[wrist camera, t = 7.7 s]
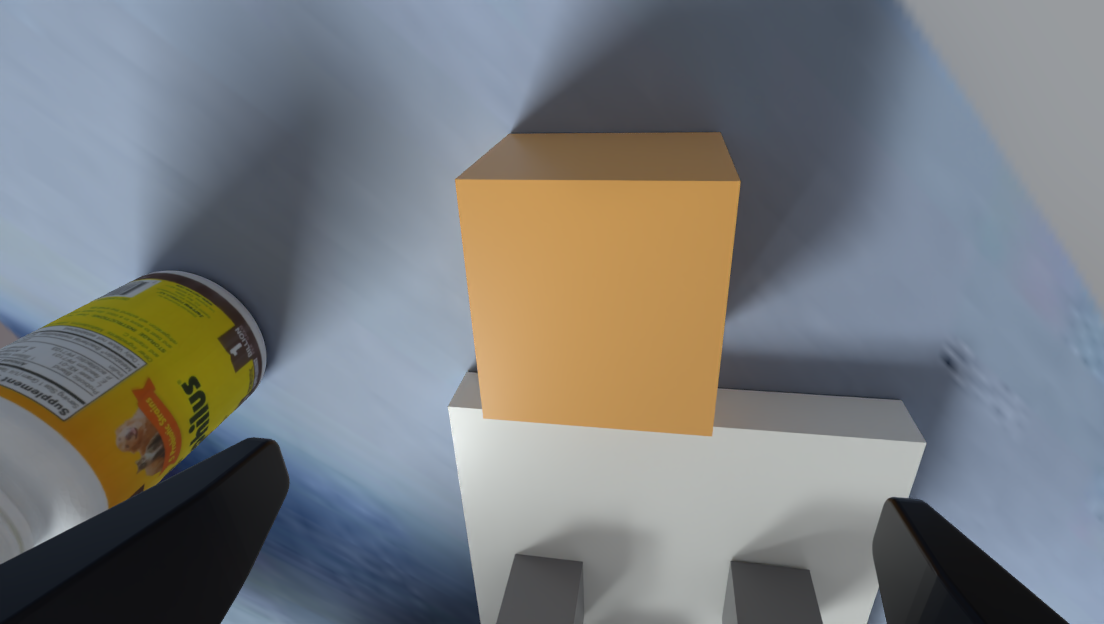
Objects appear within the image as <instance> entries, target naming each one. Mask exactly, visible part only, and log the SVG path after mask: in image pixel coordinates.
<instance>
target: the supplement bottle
mask: <svg viewBox="0 0 1104 624" xmlns="http://www.w3.org/2000/svg"><path fill="white" fill-rule="evenodd" d="M266 358H267V357H266V347H265V343H264V339H263V336H262V334H261V331H260V329H259V327H258V325H257V323H256V322H255V320H254V318H253V317H252V315H251V314H250V313H249V311H248V310H247V309H246V308H245V307H244V305H243V304H242V303H241V302H240V301H239V300H238V299H237V298H236V297H234V296H233V295H232V294H231V293H229V292H228V291H227V290H226V289H224V288H223V287H221V286H219V285H218V284H216V283H214V282H212V281H210V280H208V279H206V278H204V277H201V276H198V275H195V274H192V273H188V272H183V271H158V272H153V273H149V274H146V275H144V276H141V277H139V278H137V279H135V280H133V281H131V282H129V283H127V284H125V285H123V286H121V287H119V288H118V289H116V290H113V291H111V292H109V293H107V294H106V295H104V296H102V297H100V298H98V299H95V300H94V301H92V302H90V303H88V304H86V305H84V306H82V307H80V308H78V309H76V310H75V311H73V312H71V313H69V314H67V315H65V316H63V317H61V318H59V319H57V320H55V321H53V322H51V323H49V324H47V325H46V326H44V327H42V328H40V329H38V330H36V331H34V332H32V333H30V334H28V335H26V336H24V337H22V338H20V339H18V340H17V341H15V342H13V343H11V344H9V345H7V346H5V347H3V348H1V349H0V564H2V563H4V562H6V561H8V560H10V559H12V558H13V557H15V556H17V555H19V554H21V553H23V552H25V551H27V550H29V549H31V548H33V547H35V546H37V545H39V544H41V543H43V542H45V541H47V540H49V539H51V538H53V537H55V536H57V535H59V534H61V533H62V532H64V531H66V530H68V529H70V528H72V527H74V526H76V525H78V524H80V523H82V522H84V521H86V520H88V519H90V518H92V517H94V516H96V515H98V514H100V513H102V512H104V511H106V510H108V509H110V508H111V507H113V506H115V505H117V504H119V503H121V502H123V501H125V500H127V499H129V498H131V497H133V496H135V495H137V494H139V493H141V492H143V491H145V490H147V489H149V488H151V487H153V486H155V485H156V484H157V483H158V482H159V481H160V480H161V479H162V478H164V477H165V476H166V475H167V474H168V473H169V472H170V471H171V470H172V469H173V468H174V467H175V466H176V465H177V464H178V463H180V462H181V461H182V460H183V459H184V458H185V457H186V456H187V455H188V454H189V453H190V452H191V451H192V450H193V449H194V448H196V447H197V446H198V445H199V444H200V443H201V442H202V441H203V440H204V439H205V438H206V437H207V436H208V435H209V434H210V433H211V432H212V431H213V430H214V429H216V428H217V427H218V426H219V425H220V424H221V423H222V422H223V421H224V420H225V419H226V418H227V417H228V416H229V415H230V414H231V413H232V412H233V411H235V410H236V409H237V408H238V407H239V406H240V405H241V404H242V403H243V402H244V401H245V400H246V399H247V398H248V397H249V396H250V395H251V394H252V393H253V392H254V391H255V389H256V388H257V387H258V385H259V384H260V382H261V380H262V378H263V376H264V373H265V369H266Z"/></svg>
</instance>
